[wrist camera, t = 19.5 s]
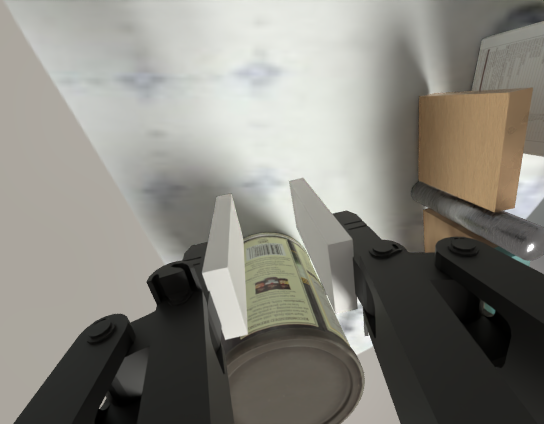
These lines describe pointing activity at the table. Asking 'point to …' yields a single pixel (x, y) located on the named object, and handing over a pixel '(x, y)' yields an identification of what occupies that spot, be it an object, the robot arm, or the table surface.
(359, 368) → the coffee can
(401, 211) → the table surface
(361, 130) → the table surface
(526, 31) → the supplement box
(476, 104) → the gate posts
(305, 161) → the table surface
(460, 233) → the gate
